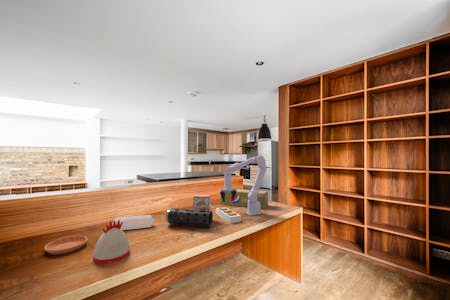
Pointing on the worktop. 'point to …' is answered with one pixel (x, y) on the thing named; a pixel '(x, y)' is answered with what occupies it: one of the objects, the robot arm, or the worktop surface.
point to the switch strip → (228, 216)
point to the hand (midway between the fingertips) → (228, 201)
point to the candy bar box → (201, 202)
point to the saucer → (65, 245)
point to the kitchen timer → (111, 245)
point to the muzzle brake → (189, 217)
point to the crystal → (135, 222)
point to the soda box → (245, 198)
